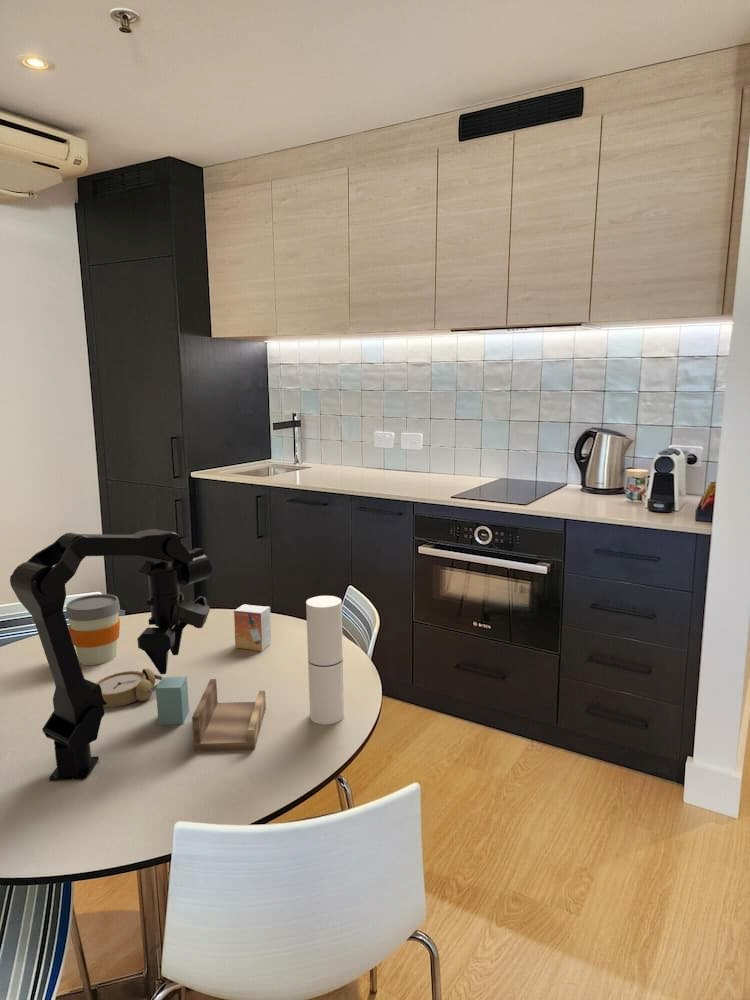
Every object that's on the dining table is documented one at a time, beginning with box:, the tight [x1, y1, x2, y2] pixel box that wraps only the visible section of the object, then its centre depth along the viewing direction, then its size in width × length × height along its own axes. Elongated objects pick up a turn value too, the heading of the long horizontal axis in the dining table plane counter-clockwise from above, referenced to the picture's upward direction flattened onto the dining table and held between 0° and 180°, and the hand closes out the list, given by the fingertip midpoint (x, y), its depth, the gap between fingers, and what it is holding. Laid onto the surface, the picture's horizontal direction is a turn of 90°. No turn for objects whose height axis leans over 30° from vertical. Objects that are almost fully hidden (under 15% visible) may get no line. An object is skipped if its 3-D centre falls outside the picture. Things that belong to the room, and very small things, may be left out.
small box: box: [233, 603, 272, 652], centre depth 171 cm, size 8×6×10 cm
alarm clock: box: [95, 668, 164, 708], centre depth 146 cm, size 11×5×15 cm
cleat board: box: [191, 678, 267, 752], centre depth 131 cm, size 16×11×7 cm
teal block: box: [155, 676, 190, 725], centre depth 135 cm, size 5×5×8 cm
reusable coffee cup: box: [65, 593, 121, 666], centre depth 165 cm, size 13×13×15 cm
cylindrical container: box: [305, 595, 345, 725], centre depth 133 cm, size 7×7×25 cm
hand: (169, 664), depth 134 cm, fingers open, 9 cm apart
